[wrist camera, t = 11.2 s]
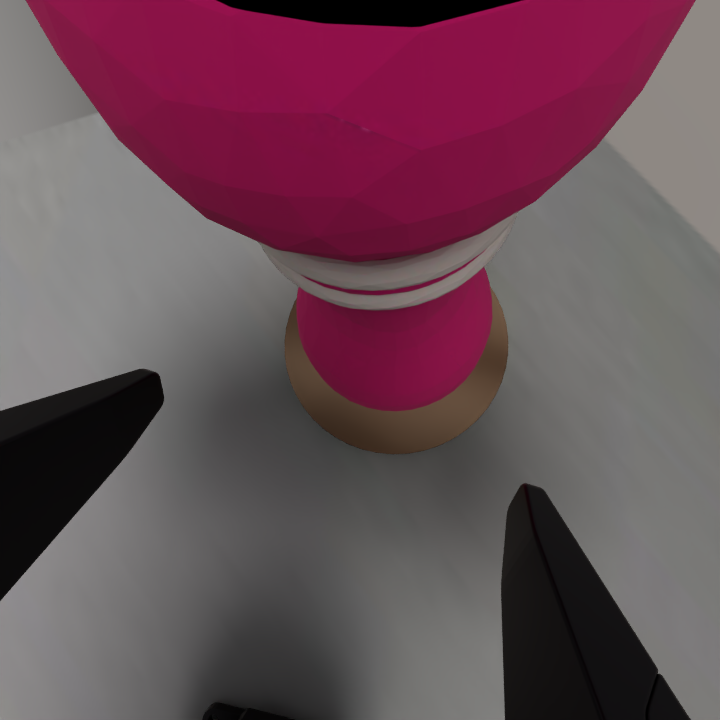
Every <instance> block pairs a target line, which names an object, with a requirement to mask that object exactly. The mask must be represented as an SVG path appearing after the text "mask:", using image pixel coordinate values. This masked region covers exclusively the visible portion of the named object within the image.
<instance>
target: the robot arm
mask: <svg viewBox="0 0 720 720" xmlns="http://www.w3.org/2000/svg"><path fill="white" fill-rule="evenodd" d="M163 402H164V394H163V389H162V384H161V379H160V376H159V374H158V373H156V372H154V371H150V370H147V369H138V370H135V371H131V372H128V373H125V374H121V375H118V376H115V377H111V378H108V379H105V380H101V381H98V382H95V383H92V384H88V385H85V386H82V387H78V388H75V389H72V390H68V391H65V392H62V393H58V394H55V395H52V396H48V397H45V398H42V399H38V400H35V401H32V402H28V403H25V404H22V405H18V406H15V407H12V408H8V409H5V410H2V411H0V601H1V600H2V598H3V597H4V596H5V595H6V594H7V593H8V591H9V590H10V589H11V588H12V587H13V586H14V585H15V583H16V582H17V581H18V580H19V579H20V578H21V577H22V575H23V574H24V573H25V572H26V571H27V570H28V568H29V567H30V566H31V565H32V564H33V563H34V562H35V560H36V559H37V558H38V557H39V556H40V555H41V554H42V552H43V551H44V550H45V549H46V548H47V547H48V545H49V544H50V543H51V542H52V541H53V540H54V539H55V537H56V536H57V535H58V534H59V533H60V532H61V531H62V529H63V528H64V527H65V526H66V525H67V524H68V522H69V521H70V520H71V519H72V518H73V517H74V516H75V514H76V513H77V512H78V511H79V510H80V509H81V508H82V506H83V505H84V504H85V503H86V502H87V501H88V499H89V498H90V497H91V496H92V495H93V494H94V493H95V491H96V490H97V489H98V488H99V487H100V486H101V485H102V483H103V482H104V481H105V480H106V479H107V478H108V476H109V475H110V474H111V473H112V472H113V471H114V470H115V468H116V467H117V466H118V465H119V464H120V463H121V461H122V460H123V459H124V458H125V457H126V455H127V454H128V453H129V451H130V450H131V449H132V447H133V446H134V445H135V443H136V442H137V440H138V439H139V438H140V436H141V435H142V433H143V432H144V431H145V429H146V428H147V426H148V425H149V424H150V422H151V421H152V419H153V418H154V417H155V415H156V414H157V412H158V411H159V410H160V408H161V407H162V405H163ZM501 604H502V637H503V670H504V702H505V720H691V719H690V718H689V716H688V715H687V713H686V712H685V710H684V709H683V707H682V706H681V704H680V703H679V701H678V700H677V698H676V696H675V695H674V693H673V692H672V690H671V689H670V687H669V685H668V684H667V682H666V681H665V679H664V678H663V676H662V675H661V674H658V669H657V667H656V665H655V664H654V662H653V661H652V659H651V657H650V656H649V654H648V653H647V651H646V650H645V648H644V646H643V645H642V643H641V642H640V640H639V639H638V637H637V635H636V634H635V632H634V631H633V629H632V628H631V626H630V624H629V623H628V621H627V620H626V618H625V617H624V615H623V613H622V612H621V610H620V609H619V607H618V605H617V604H616V602H615V601H614V599H613V598H612V596H611V594H610V593H609V591H608V590H607V588H606V587H605V585H604V583H603V582H602V580H601V579H600V577H599V576H598V574H597V572H596V571H595V569H594V568H593V566H592V565H591V563H590V561H589V560H588V558H587V557H586V555H585V554H584V552H583V550H582V549H581V547H580V546H579V544H578V543H577V541H576V539H575V538H574V536H573V535H572V533H571V532H570V530H569V528H568V527H567V525H566V524H565V522H564V521H563V519H562V517H561V516H560V514H559V513H558V511H557V510H556V508H555V506H554V505H553V503H552V502H551V500H550V499H549V497H548V495H547V494H546V492H545V491H544V490H543V489H542V488H540V487H537V486H533V485H530V484H527V483H524V484H522V485H521V486H520V487H519V489H518V491H517V493H516V494H515V496H514V498H513V500H512V502H511V503H510V505H509V508H508V512H507V519H506V531H505V543H504V554H503V566H502V579H501ZM212 715H216V716H217V718H218V720H293V719H289V718H286V717H282V716H278V715H274V714H270V713H266V712H262V711H258V710H255V709H251V708H249V709H247V710H246V709H242V708H238V707H234V706H230V705H226V704H222V703H214V704H212V705H211V706H210V707H209V708H208V710H207V711H206V712H205V714H204V716H203V719H202V720H213V718H212Z"/></svg>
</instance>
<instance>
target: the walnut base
mask: <svg viewBox="0 0 720 720" xmlns="http://www.w3.org/2000/svg"><path fill="white" fill-rule="evenodd" d="M490 290H491V296H492V316H493V318H492V324H491V330H490V335H489V337H488V340H487V343H486V346H485V349H484V351H483V353H482V355H481V357H480V359H479V361H478V363H477V365H476V367H475V369H474V370H473V371H472V372H471V374H470V375H469V376H468V377H467V379H466V380H465V381H464V382H463V383H462V384H461V385H460V386H459V387H458V388H456V389H455V390H454V391H453V392H451V393H450V394H448V395H447V396H445V397H444V398H442V399H441V400H439V401H436V402H434V403H432V404H430V405H427V406H424V407H420V408H417V409H413V410H405V411H381V410H376V409H371V408H367V407H364V406H361V405H359V404H356V403H354V402H351V401H349V400H348V399H346V398H345V397H343V396H342V395H340V394H339V393H337V392H336V391H334V390H333V389H332V388H331V387H330V386H329V385H328V384H327V383H326V382H325V381H324V380H323V379H322V378H321V376H320V375H319V374H318V372H317V371H316V370H315V368H314V367H313V365H312V364H311V362H310V360H309V358H308V356H307V355H306V353H305V351H304V349H303V346H302V343H301V340H300V337H299V331H298V323H297V310H296V303H297V299H296V301H295V303H294V305H293V308H292V310H291V313H290V315H289V319H288V323H287V327H286V335H285V360H286V367H287V371H288V375H289V378H290V382H291V384H292V387H293V389H294V391H295V393H296V396H297V397H298V399H299V401H300V402H301V404H302V405H303V407H304V408H305V410H306V411H307V412H308V413H309V415H310V416H311V417H312V418H313V419H314V420H315V421H316V422H317V423H318V424H319V425H320V426H321V427H322V428H323V429H325V430H326V431H327V432H329V433H330V434H332V435H333V436H334V437H336V438H338V439H340V440H342V441H343V442H345V443H347V444H349V445H352V446H355V447H357V448H360V449H363V450H367V451H372V452H376V453H386V454H407V453H413V452H419V451H424V450H427V449H430V448H433V447H436V446H439V445H441V444H443V443H445V442H447V441H449V440H452V439H453V438H455V437H456V436H458V435H459V434H461V433H462V432H464V431H465V430H467V429H468V428H469V427H470V426H471V425H472V424H473V423H474V422H476V421H477V420H478V419H479V417H480V416H481V415H482V414H483V413H484V412H485V410H486V409H487V408H488V406H489V405H490V403H491V402H492V400H493V399H494V397H495V395H496V393H497V391H498V389H499V387H500V384H501V382H502V379H503V375H504V372H505V369H506V363H507V356H508V334H507V326H506V322H505V318H504V314H503V311H502V308H501V306H500V304H499V301H498V299H497V297H496V295H495V294H494V292H493V290H492V289H491V287H490Z"/></svg>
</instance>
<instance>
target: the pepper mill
mask: <svg viewBox="0 0 720 720" xmlns="http://www.w3.org/2000/svg"><path fill="white" fill-rule="evenodd" d="M26 1H27V3H28V5H29V7H30V9H31V10H32V12H33V14H34V15H35V17H36V19H37V20H38V22H39V24H40V26H41V27H42V29H43V31H44V32H45V34H46V36H47V38H48V39H49V41H50V43H51V44H52V46H53V48H54V49H55V51H56V53H57V55H58V56H59V57H60V59H61V60H62V62H63V63H64V64H65V66H66V67H67V69H68V70H69V71H70V73H71V74H72V76H73V77H74V78H75V80H76V81H77V83H78V84H79V85H80V87H81V88H82V90H83V91H84V92H85V94H86V95H87V96H88V98H89V99H90V101H91V102H92V103H93V105H94V106H95V108H96V109H97V110H98V112H99V113H100V115H101V116H102V117H103V119H104V120H105V122H106V123H107V124H108V126H109V127H110V129H111V130H112V131H113V133H114V134H115V136H116V137H117V138H118V140H119V141H121V142H122V143H123V144H124V145H125V146H126V147H127V148H128V149H129V150H130V151H131V152H132V153H134V154H135V155H136V156H137V157H138V158H139V159H140V160H141V161H142V162H143V163H144V164H145V165H147V166H148V167H149V168H150V169H151V170H152V171H153V172H154V173H155V174H156V175H157V176H158V177H160V178H161V179H162V180H163V181H164V182H165V183H166V184H167V185H168V186H169V187H171V188H172V189H173V190H174V191H175V192H176V193H178V194H179V195H180V196H181V197H182V198H183V199H185V200H186V201H187V202H188V203H189V204H190V205H192V206H193V207H194V208H195V209H196V210H197V211H199V212H200V213H201V214H202V215H203V216H205V217H206V218H207V219H209V220H212V221H214V222H216V223H218V224H220V225H223V226H225V227H227V228H229V229H232V230H234V231H236V232H238V233H240V234H243V235H245V236H247V237H249V238H251V239H254V240H256V241H257V242H258V243H259V244H260V245H261V246H262V248H263V250H264V252H265V253H266V254H267V256H268V257H269V259H270V260H271V261H272V263H273V264H274V265H275V266H276V268H277V269H278V270H279V271H280V272H281V273H283V274H284V275H285V276H286V277H287V278H288V279H289V280H291V281H292V282H293V283H295V284H296V285H297V286H299V288H298V294H297V303H296V310H297V323H298V331H299V337H300V340H301V343H302V346H303V349H304V351H305V353H306V355H307V356H308V358H309V360H310V362H311V364H312V365H313V367H314V368H315V370H316V371H317V372H318V374H319V375H320V376H321V378H322V379H323V380H324V381H325V382H326V383H327V384H328V385H329V386H330V387H331V388H332V389H333V390H334V391H336V392H337V393H339V394H340V395H342V396H343V397H345V398H346V399H348V400H349V401H351V402H354V403H356V404H359V405H361V406H364V407H367V408H371V409H376V410H381V411H405V410H413V409H417V408H420V407H424V406H427V405H430V404H432V403H434V402H436V401H439V400H441V399H442V398H444V397H445V396H447V395H448V394H450V393H451V392H453V391H454V390H455V389H456V388H458V387H459V386H460V385H461V384H462V383H463V382H464V381H465V380H466V379H467V377H468V376H469V375H470V374H471V372H472V371H473V370H474V369H475V367H476V365H477V363H478V361H479V359H480V357H481V355H482V353H483V351H484V349H485V346H486V343H487V340H488V337H489V335H490V330H491V324H492V318H493V316H492V296H491V290H490V284H489V280H488V277H487V273H486V271H485V268H484V266H485V265H486V264H487V263H488V262H489V261H490V260H491V259H492V258H493V257H494V255H495V254H496V253H497V251H498V250H499V249H500V248H501V246H502V244H503V243H504V241H505V239H506V238H507V236H508V234H509V233H510V230H511V228H512V226H513V223H514V221H515V219H516V216H517V213H518V211H519V210H521V209H523V208H525V207H526V206H528V205H530V204H531V203H533V202H535V201H536V200H537V199H538V198H540V197H541V196H542V195H543V194H544V193H545V192H546V191H547V190H548V189H550V188H551V187H552V186H553V185H554V184H555V183H556V182H557V181H559V180H560V179H561V178H562V177H563V176H564V175H565V174H566V173H568V172H569V171H570V170H571V169H572V168H573V167H574V166H575V165H577V164H578V163H579V162H580V161H581V160H582V159H583V158H584V157H585V156H587V155H588V154H589V153H590V152H591V151H592V150H593V149H594V148H596V146H597V145H598V144H599V143H600V142H601V140H602V139H603V138H604V137H605V135H606V134H607V133H608V132H609V130H610V129H611V128H612V127H613V126H614V124H615V123H616V122H617V121H618V119H619V118H620V117H621V116H622V115H623V113H624V112H625V111H626V110H627V108H628V107H629V106H630V105H631V104H632V102H633V101H634V100H635V98H636V97H637V96H638V95H639V94H640V92H641V91H642V90H643V88H644V86H645V85H646V83H647V81H648V80H649V78H650V76H651V75H652V73H653V71H654V70H655V68H656V66H657V65H658V63H659V61H660V60H661V58H662V56H663V54H664V53H665V51H666V49H667V48H668V46H669V44H670V43H671V41H672V39H673V38H674V36H675V34H676V32H677V31H678V29H679V28H680V26H681V24H682V22H683V21H684V19H685V17H686V16H687V14H688V12H689V11H690V9H691V7H692V6H693V4H694V2H695V0H26Z"/></svg>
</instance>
